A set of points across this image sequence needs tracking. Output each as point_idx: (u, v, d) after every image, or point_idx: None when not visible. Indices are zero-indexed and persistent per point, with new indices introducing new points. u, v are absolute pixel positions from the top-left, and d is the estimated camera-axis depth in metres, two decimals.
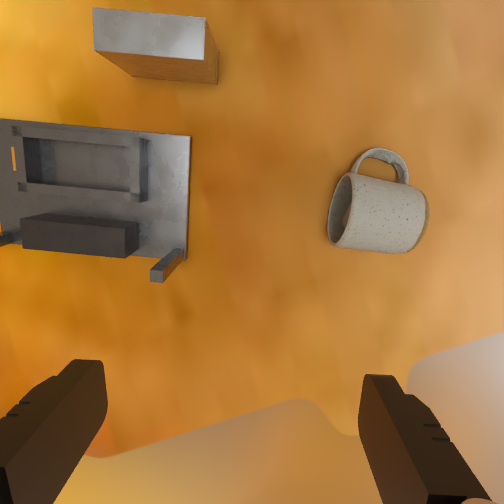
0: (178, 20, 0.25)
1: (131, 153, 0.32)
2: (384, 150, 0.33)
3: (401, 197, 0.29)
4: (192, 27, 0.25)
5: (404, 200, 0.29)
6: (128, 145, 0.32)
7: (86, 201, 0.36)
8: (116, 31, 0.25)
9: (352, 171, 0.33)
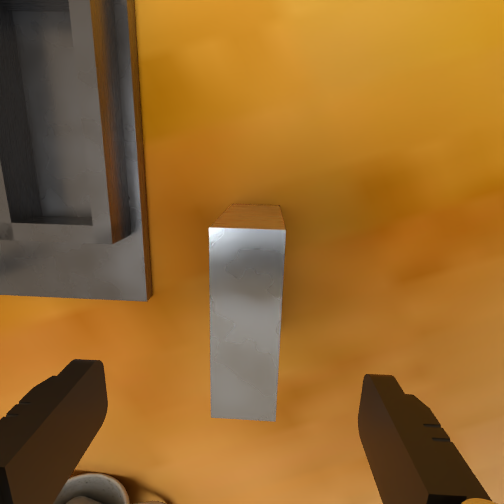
0: (269, 381, 0.14)
1: (82, 228, 0.17)
2: None
3: None
4: (258, 401, 0.14)
5: None
6: (94, 223, 0.17)
7: None
8: (246, 274, 0.13)
9: None
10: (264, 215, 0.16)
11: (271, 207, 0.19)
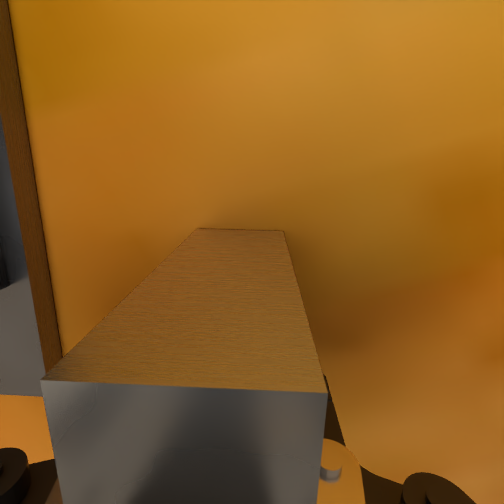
0: None
1: None
2: None
3: None
4: None
5: None
6: None
7: None
8: None
9: None
10: (253, 273, 0.07)
11: (268, 238, 0.10)
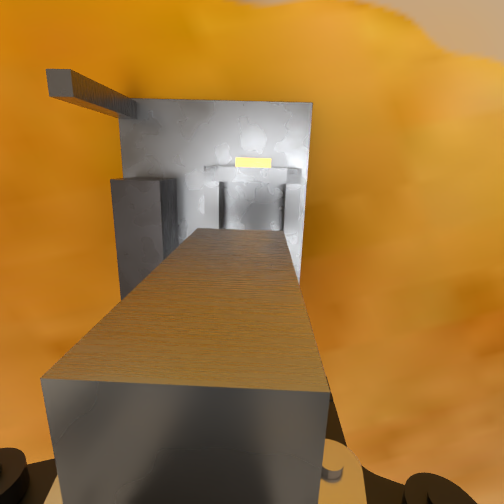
0: None
1: None
2: None
3: None
4: None
5: None
6: None
7: None
8: None
9: None
10: (254, 273, 0.07)
11: (269, 238, 0.10)
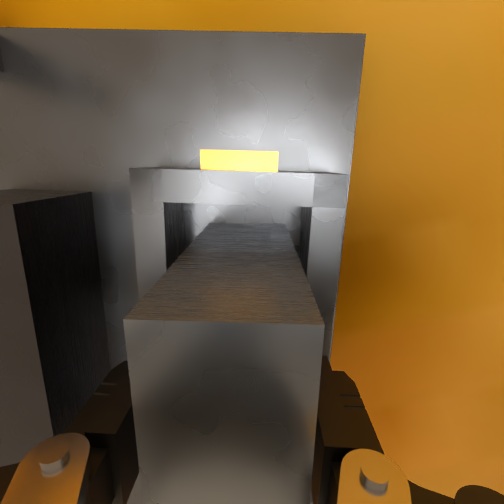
0: None
1: None
2: None
3: None
4: None
5: None
6: None
7: None
8: (224, 425, 0.05)
9: None
10: (263, 256, 0.08)
11: (273, 230, 0.11)
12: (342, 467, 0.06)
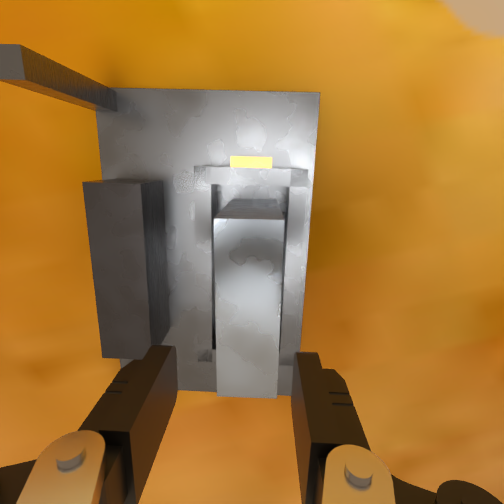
0: (270, 361, 0.15)
1: None
2: None
3: None
4: (261, 380, 0.15)
5: None
6: (281, 351, 0.21)
7: (192, 252, 0.22)
8: (248, 261, 0.14)
9: None
10: (263, 208, 0.17)
11: (269, 201, 0.20)
12: (327, 462, 0.06)
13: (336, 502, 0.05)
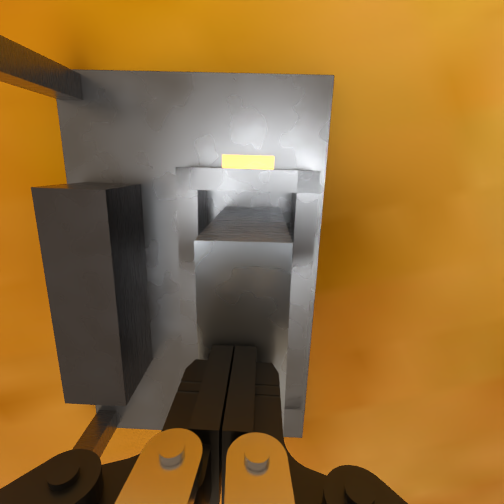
0: None
1: None
2: None
3: None
4: None
5: None
6: (285, 392, 0.17)
7: (177, 270, 0.18)
8: (242, 299, 0.10)
9: None
10: (263, 221, 0.13)
11: (271, 210, 0.16)
12: (229, 448, 0.06)
13: (226, 485, 0.06)
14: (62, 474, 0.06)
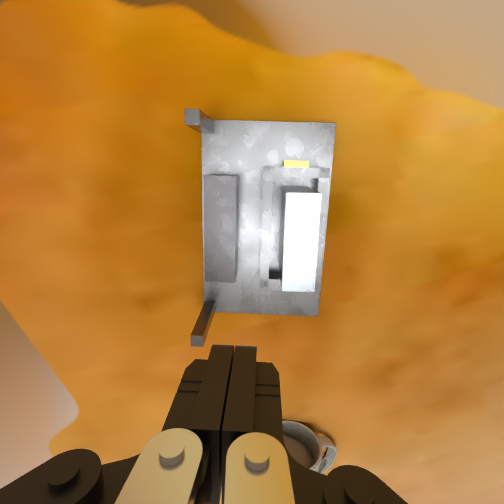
0: (312, 270, 0.29)
1: None
2: (335, 456, 0.44)
3: None
4: (306, 281, 0.29)
5: None
6: None
7: (254, 220, 0.36)
8: (302, 215, 0.27)
9: (320, 442, 0.42)
10: (305, 189, 0.30)
11: (305, 187, 0.33)
12: (229, 449, 0.06)
13: (226, 485, 0.06)
14: (62, 474, 0.06)
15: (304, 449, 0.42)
